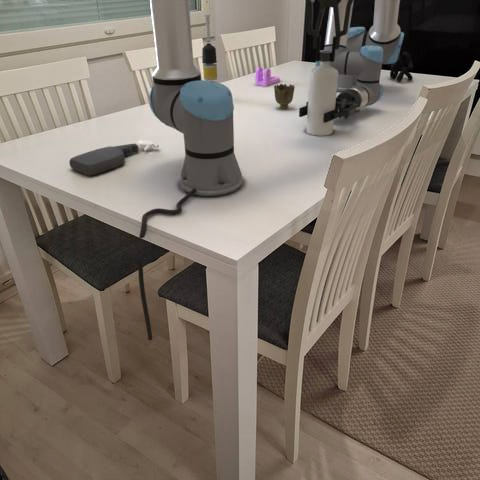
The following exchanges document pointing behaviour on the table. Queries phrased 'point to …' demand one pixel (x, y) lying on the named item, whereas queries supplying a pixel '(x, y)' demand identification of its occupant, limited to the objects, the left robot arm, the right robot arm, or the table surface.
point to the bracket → (265, 77)
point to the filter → (209, 57)
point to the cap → (325, 56)
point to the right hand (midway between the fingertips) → (312, 115)
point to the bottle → (321, 98)
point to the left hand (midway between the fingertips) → (325, 60)
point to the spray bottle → (106, 157)
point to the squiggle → (401, 67)
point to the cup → (284, 95)
